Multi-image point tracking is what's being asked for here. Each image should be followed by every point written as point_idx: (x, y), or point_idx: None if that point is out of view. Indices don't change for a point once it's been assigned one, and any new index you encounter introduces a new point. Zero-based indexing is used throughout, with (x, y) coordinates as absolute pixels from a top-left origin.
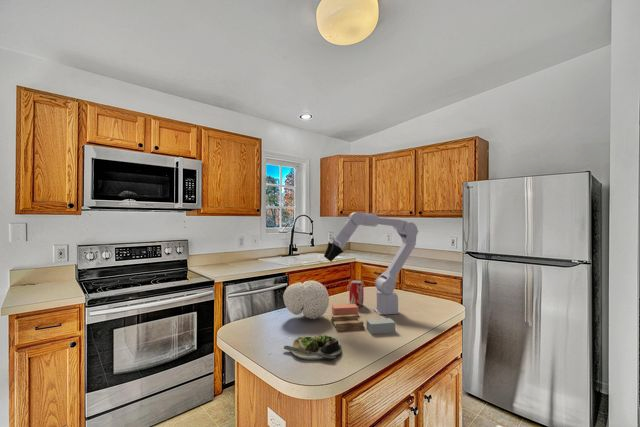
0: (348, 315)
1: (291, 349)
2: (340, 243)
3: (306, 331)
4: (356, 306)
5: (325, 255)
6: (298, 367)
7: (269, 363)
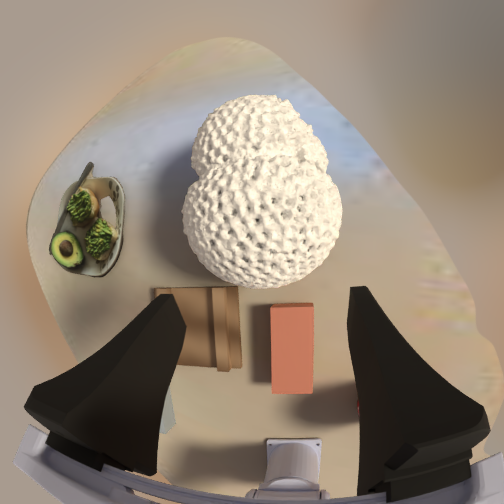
0: (220, 343)
1: (80, 177)
2: (16, 454)
3: (169, 205)
4: (282, 390)
5: (352, 307)
6: (54, 195)
7: (72, 150)
